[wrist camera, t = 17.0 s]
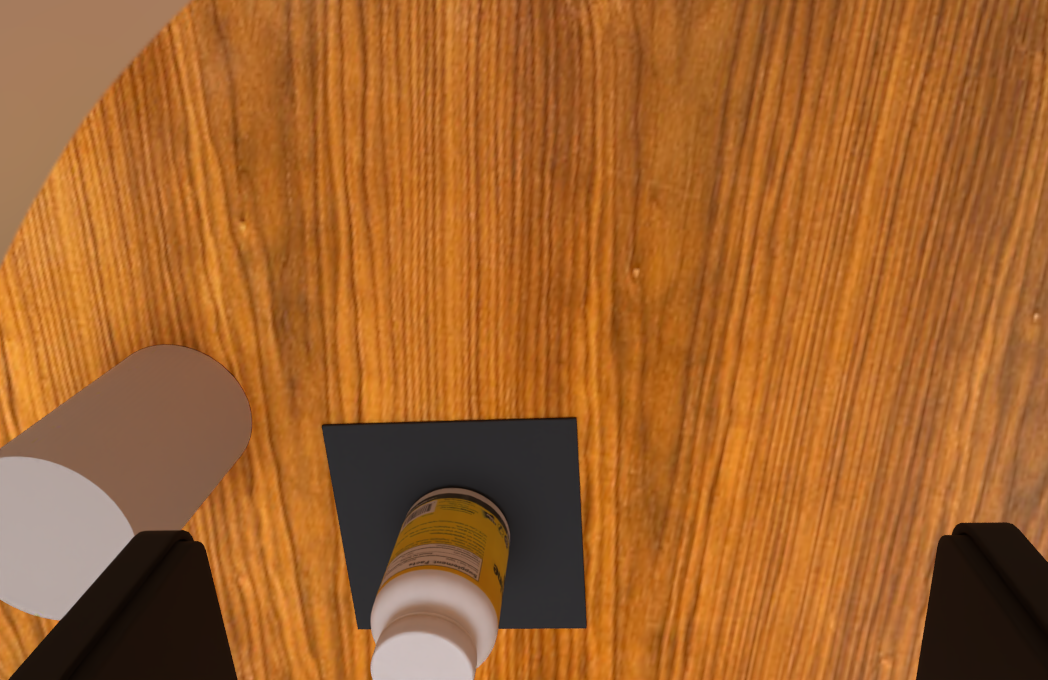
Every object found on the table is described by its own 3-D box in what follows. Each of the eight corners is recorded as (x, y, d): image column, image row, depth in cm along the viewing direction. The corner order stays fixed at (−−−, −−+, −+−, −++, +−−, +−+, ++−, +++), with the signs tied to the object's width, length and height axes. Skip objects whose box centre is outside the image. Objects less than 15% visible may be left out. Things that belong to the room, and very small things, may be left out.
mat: (358, 627, 49) (358, 629, 48) (322, 424, 44) (321, 426, 43) (586, 626, 47) (586, 628, 47) (576, 417, 42) (576, 419, 42)
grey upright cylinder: (78, 388, 44) (-94, 510, 33) (187, 318, 42) (43, 423, 31) (173, 497, 46) (43, 646, 35) (281, 436, 44) (178, 574, 33)
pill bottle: (494, 586, 47) (468, 744, 36) (393, 556, 46) (339, 705, 36) (525, 502, 44) (507, 644, 34) (420, 469, 44) (370, 602, 34)
